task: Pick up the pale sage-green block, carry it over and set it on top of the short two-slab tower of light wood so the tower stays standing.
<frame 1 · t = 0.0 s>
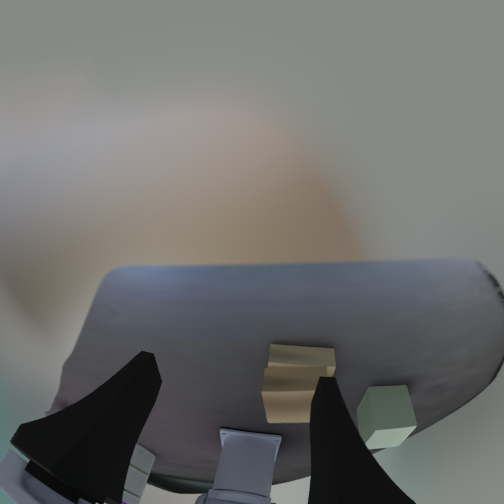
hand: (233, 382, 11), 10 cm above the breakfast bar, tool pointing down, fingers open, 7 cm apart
slab bottom: (298, 364, 24), on the breakfast bar, touching slab top
syrup box: (138, 447, 42), on the breakfast bar
slab top: (296, 385, 22), point 2 cm above the breakfast bar, touching slab bottom
block: (380, 397, 25), on the breakfast bar
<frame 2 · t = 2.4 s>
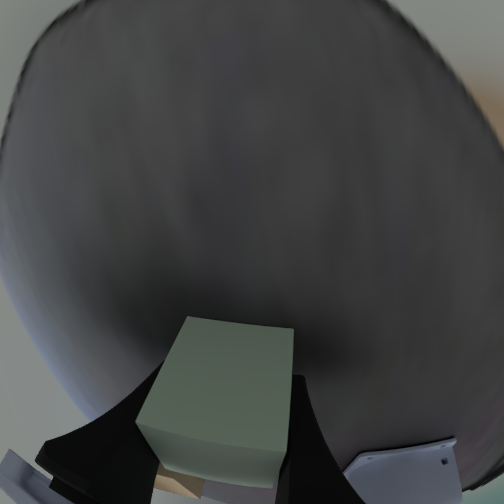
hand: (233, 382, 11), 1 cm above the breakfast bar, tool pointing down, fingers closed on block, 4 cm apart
slab top: (165, 454, 15), point 2 cm above the breakfast bar
block: (239, 359, 12), on the breakfast bar, touching gripper
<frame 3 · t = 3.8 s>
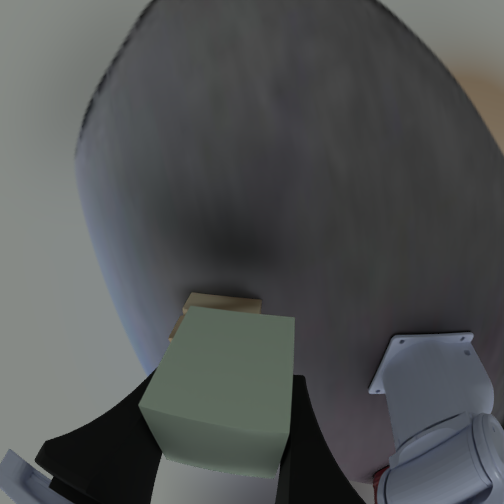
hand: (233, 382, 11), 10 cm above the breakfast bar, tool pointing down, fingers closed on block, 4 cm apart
slab bottom: (227, 320, 23), on the breakfast bar, touching slab top
block: (240, 349, 13), point 8 cm above the breakfast bar, touching gripper
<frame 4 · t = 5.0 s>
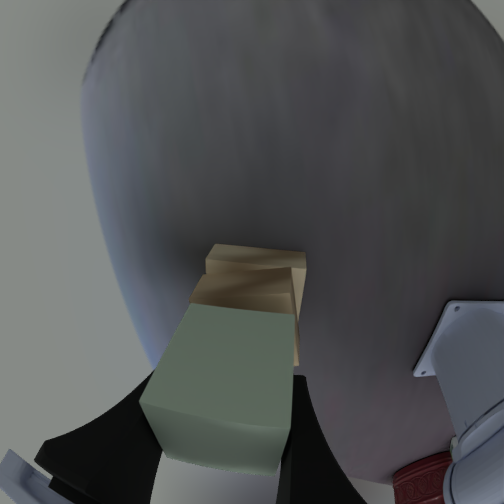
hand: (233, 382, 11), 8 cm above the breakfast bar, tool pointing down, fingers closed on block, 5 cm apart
slab bottom: (258, 283, 19), on the breakfast bar, touching slab top
canister: (424, 465, 31), on the breakfast bar
slab top: (253, 307, 16), point 2 cm above the breakfast bar, touching slab bottom
block: (240, 347, 13), point 6 cm above the breakfast bar, touching gripper
when the fingers open (8 cm above the breakfast bar, at t = 5.0 s): block drops 1 cm, point 5 cm above the breakfast bar.
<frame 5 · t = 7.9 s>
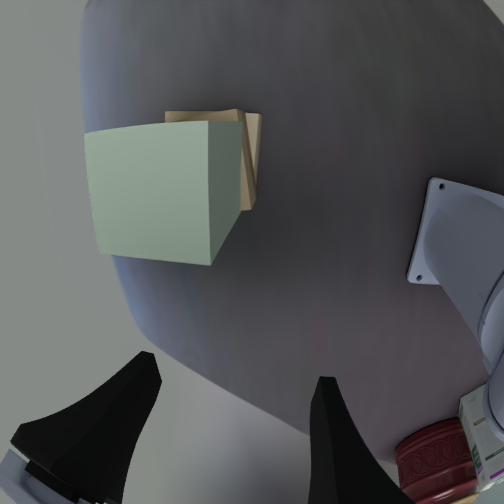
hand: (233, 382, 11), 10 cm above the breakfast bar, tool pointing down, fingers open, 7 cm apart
slab bottom: (218, 153, 18), on the breakfast bar
canister: (430, 437, 30), on the breakfast bar
syrup box: (475, 396, 25), on the breakfast bar
slab top: (208, 160, 15), point 2 cm above the breakfast bar
block: (196, 167, 13), point 5 cm above the breakfast bar
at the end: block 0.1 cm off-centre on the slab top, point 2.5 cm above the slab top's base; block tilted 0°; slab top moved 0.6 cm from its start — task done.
